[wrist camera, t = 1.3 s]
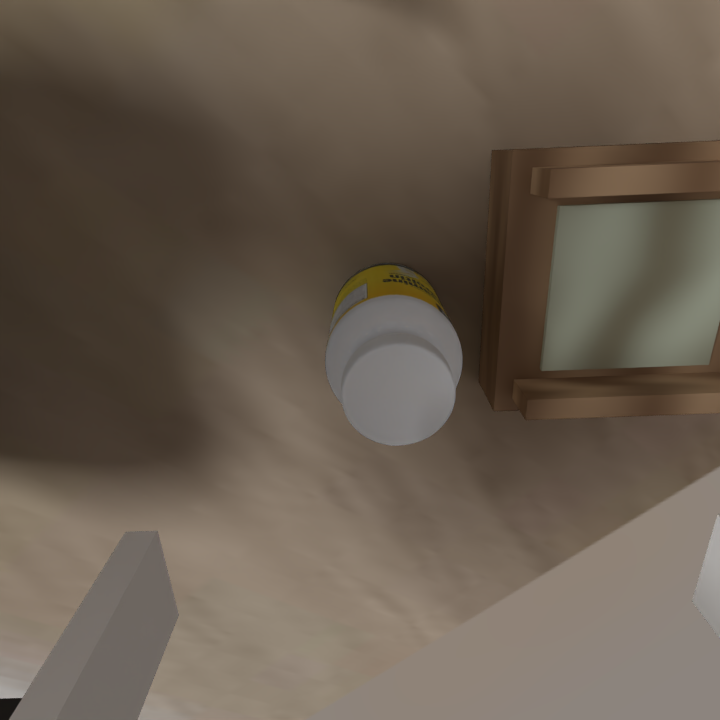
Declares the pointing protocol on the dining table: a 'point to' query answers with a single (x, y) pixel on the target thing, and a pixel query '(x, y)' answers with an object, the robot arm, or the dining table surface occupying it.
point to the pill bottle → (393, 355)
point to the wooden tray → (603, 281)
